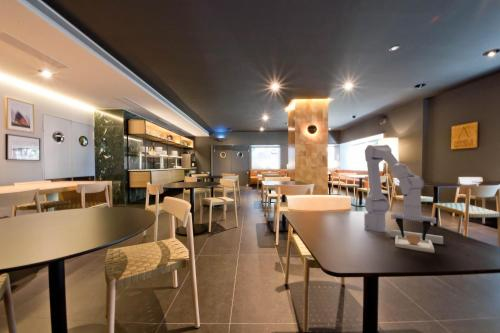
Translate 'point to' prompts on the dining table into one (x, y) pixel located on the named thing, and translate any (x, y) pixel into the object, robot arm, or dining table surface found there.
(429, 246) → the tray
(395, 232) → the low wall
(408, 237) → the ball
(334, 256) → the dining table surface
